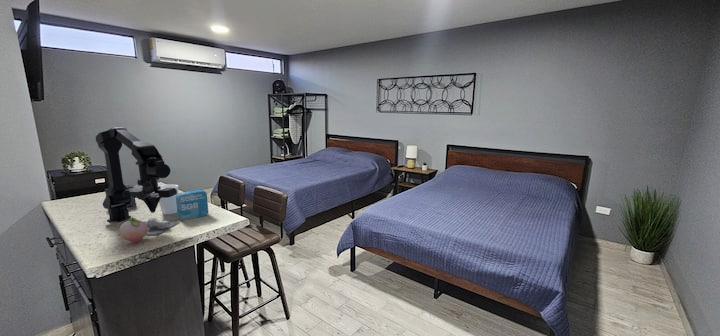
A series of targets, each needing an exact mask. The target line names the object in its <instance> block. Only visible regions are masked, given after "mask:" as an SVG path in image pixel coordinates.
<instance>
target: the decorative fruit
mask: <svg viewBox="0 0 720 336" xmlns="http://www.w3.org/2000/svg"><path fill="white" fill-rule="evenodd" d="M145 222H146V221H142V220H140V219H137V218H135V217H133V216H131V217H130V218H127V220H126V221H124V222H122V224H121V225H120V226H119V229H118V234H119V235H118V236H120V238H121V239H122V240H124V241H126V242H131V243H138V242H140V241H142V240H143V239H144V238H145V237H146V236H147V235H146V234H147V232H148V226H147V224H146V223H145Z"/></svg>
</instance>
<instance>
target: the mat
mask: <svg viewBox="0 0 720 336" xmlns="http://www.w3.org/2000/svg"><path fill="white" fill-rule="evenodd" d="M144 222H145V223H146V224H147V221H144ZM169 222H170V225H169V226H170V227H168V228H166V229H165V228H164V227H163V228H161V227H156V228H148V232H147V234H146V236H160V235H161V234H163V233H165V232H166V231H168V230H169V229H172V228H173V227H175V226H176V225H178V224H180V221H169ZM117 236H120V235H119V233H118V234H117Z"/></svg>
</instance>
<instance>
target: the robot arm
mask: <svg viewBox="0 0 720 336" xmlns="http://www.w3.org/2000/svg"><path fill="white" fill-rule="evenodd" d="M95 142H96V144H97V147H98V148H99V150H101V152H103V154H104V158H105V165H106V170H107V171H106V172H107V177H108V183H109V185H108V187H107V188H106V189H107V191H106V193H105V198H104V200H103V201H102V206H103V209H106V210H107V211H108V215H109V216H108V217H109V219H107V220H106V222H123V221H125V220H128V219H130V218H132V215H130V211H129V209H128V208H129V207H127V205H130V204H131V197H132V198H135V199H138V200H140V201H142V202H143V203H144V204H145V205H146V206H147V208H148V210H149V212H150V214H151V213H153V214H154V213H155V212H156V211H157V208H158V205H159V204H160V203H159V201H160V199H161V198H168V197H171V196H174V195H176V194H177V190H176V189H175V188H165V189H162V190H159V189H161V188H160V186H161V185H159V184H158V183H159V181H158V180H160V179H166V178H168V176H170V174H171V168H170V166H169V165H168V164H166V163H165V160H164V159H163V156H162V154H161V153H160V152H159V150H158V149H157V147H156V146H155V145H154V144H152V143H150V142H145V141H142V140H140V139H139V138H137V136H135V135H133V134H132V133H131V132H130V131H128V129H127V127H124V126H123V127H121V126H119V127H112V128H109V129H108V130H104V131H101V132H98V134H97V135H96V136H95ZM123 145H124V146H126V147H127V148H128V149H130V150H131V155H132V156H133V157H134V159H136V162H135V165H136V166H137V167H138V173H139V178H138V179H137V184H136V185H134V186H133V188H130V189H129V188H127V187H126V186H127V185H126V184H124V179H123V173H122V172H123V171H122V166H121V159H120V153H119V152H120V150H121V148H123Z"/></svg>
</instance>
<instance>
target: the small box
mask: <svg viewBox="0 0 720 336" xmlns="http://www.w3.org/2000/svg"><path fill="white" fill-rule="evenodd" d="M125 186H126V187H127V188H129V189H130V188H133V187H134V186H132V185H125ZM107 189H108V188H104V191H105V192H104V193H105V194H106V191H107ZM135 206H137V202H136V198H132V197H131V204H130V205H127V208H131V207H135Z"/></svg>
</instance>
